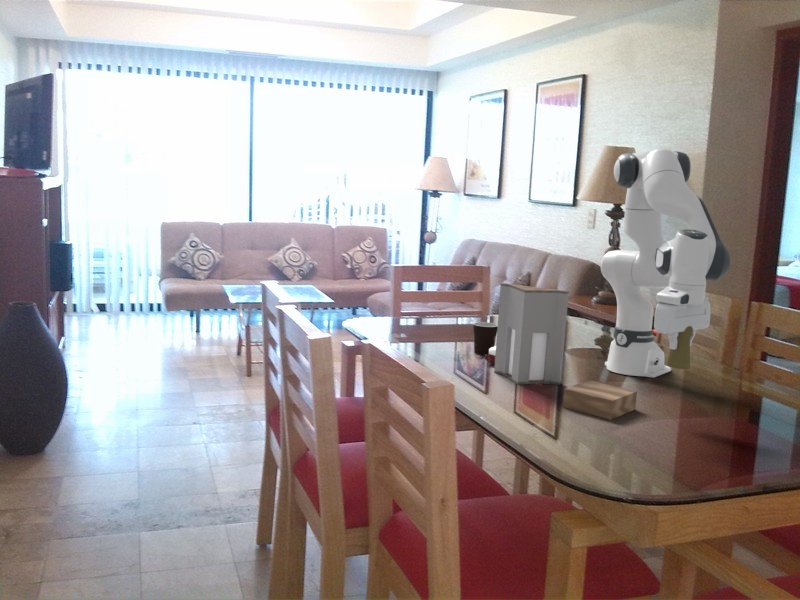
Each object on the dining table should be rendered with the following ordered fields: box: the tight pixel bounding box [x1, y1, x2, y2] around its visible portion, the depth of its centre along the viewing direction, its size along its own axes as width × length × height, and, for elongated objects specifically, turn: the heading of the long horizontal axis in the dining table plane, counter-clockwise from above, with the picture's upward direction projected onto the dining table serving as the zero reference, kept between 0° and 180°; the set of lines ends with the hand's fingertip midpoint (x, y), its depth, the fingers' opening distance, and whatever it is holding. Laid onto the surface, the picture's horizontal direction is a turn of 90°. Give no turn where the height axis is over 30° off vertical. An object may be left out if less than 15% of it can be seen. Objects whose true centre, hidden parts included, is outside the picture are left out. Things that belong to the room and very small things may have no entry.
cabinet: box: [493, 282, 570, 386], centre depth 227 cm, size 21×10×28 cm, turn 59°
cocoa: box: [485, 345, 496, 366], centre depth 247 cm, size 10×6×12 cm, turn 96°
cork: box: [664, 326, 693, 370], centre depth 195 cm, size 6×6×11 cm
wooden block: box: [562, 380, 638, 421], centre depth 204 cm, size 14×14×5 cm
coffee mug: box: [472, 321, 498, 356], centre depth 264 cm, size 12×9×10 cm
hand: (680, 347), depth 195 cm, fingers closed on cork, 4 cm apart
